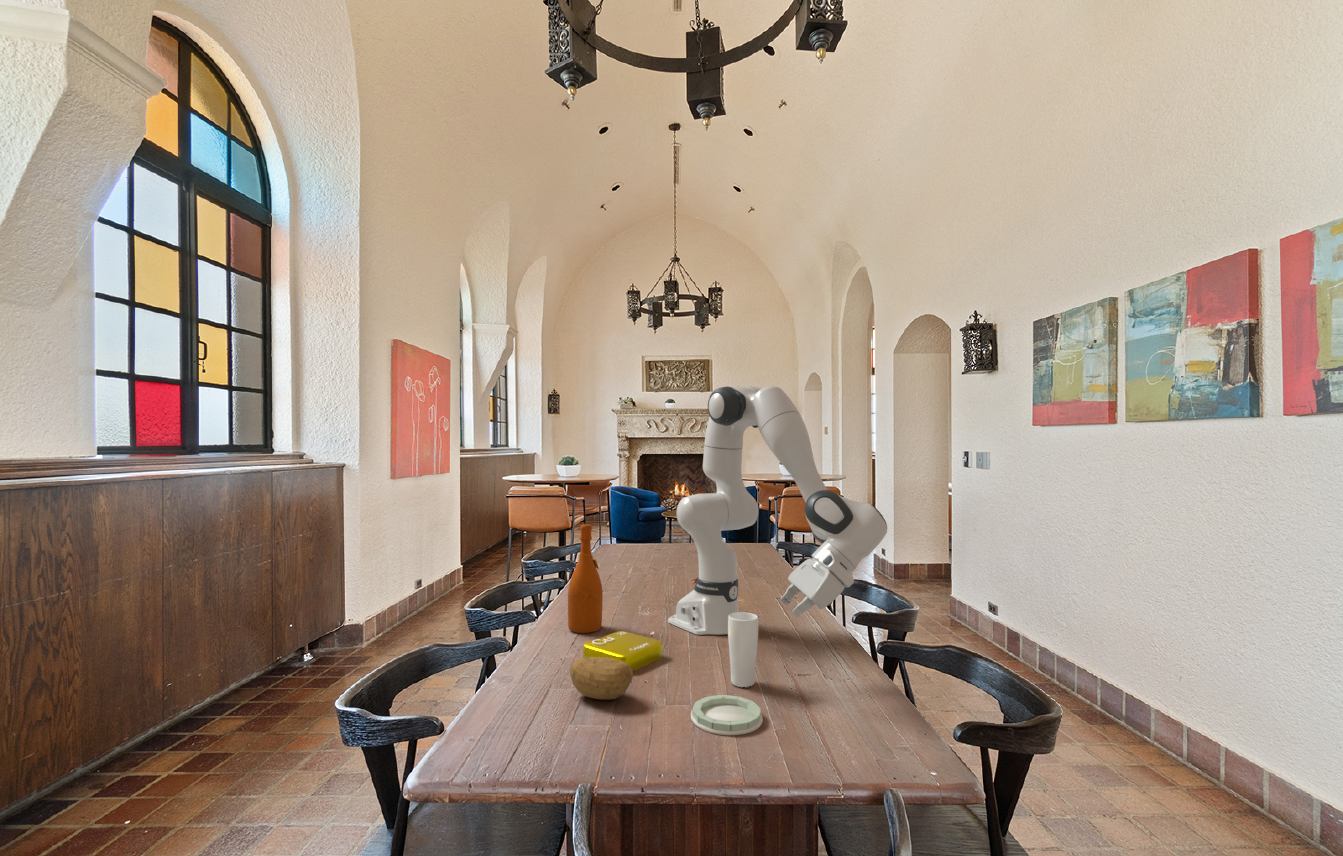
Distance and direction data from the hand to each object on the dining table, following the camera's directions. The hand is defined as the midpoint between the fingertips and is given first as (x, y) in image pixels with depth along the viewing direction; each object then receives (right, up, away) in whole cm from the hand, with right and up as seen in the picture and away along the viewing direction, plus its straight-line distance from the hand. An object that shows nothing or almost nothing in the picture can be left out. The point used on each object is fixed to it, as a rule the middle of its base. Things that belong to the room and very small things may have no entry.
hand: (788, 608), depth 137 cm
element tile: (-38, -17, +14) cm, 45 cm away
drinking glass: (-10, -17, -1) cm, 20 cm away
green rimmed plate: (-16, -16, -18) cm, 29 cm away
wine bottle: (-51, -17, +37) cm, 66 cm away
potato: (-41, -16, -9) cm, 45 cm away
